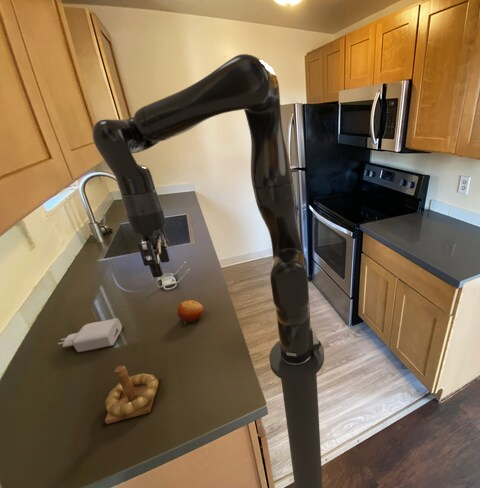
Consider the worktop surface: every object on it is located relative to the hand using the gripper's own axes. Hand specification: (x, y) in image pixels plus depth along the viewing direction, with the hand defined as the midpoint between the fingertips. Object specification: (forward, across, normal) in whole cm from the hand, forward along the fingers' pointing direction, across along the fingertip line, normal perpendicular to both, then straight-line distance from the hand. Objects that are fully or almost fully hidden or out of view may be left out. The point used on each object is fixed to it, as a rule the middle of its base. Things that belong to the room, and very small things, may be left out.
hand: (162, 268), depth 73 cm
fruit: (+28, +15, 0) cm, 32 cm away
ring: (+26, -15, +10) cm, 31 cm away
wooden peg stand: (+28, -15, +10) cm, 33 cm away
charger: (+28, +13, +30) cm, 43 cm away
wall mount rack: (+28, +46, +11) cm, 55 cm away
